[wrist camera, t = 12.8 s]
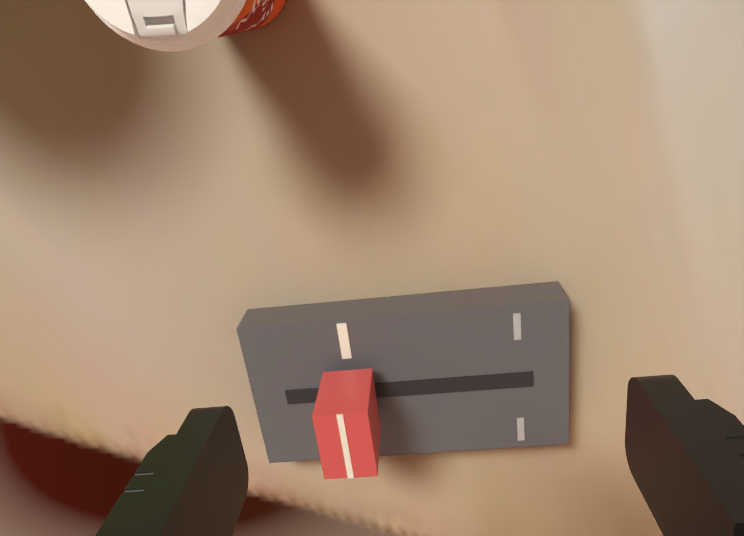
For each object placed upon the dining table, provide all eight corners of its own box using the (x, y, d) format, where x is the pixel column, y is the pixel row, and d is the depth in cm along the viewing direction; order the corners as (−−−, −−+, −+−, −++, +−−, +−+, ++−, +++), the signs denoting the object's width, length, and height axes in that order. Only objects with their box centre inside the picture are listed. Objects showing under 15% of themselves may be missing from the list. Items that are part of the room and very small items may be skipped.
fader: (372, 363, 40) (367, 412, 34) (381, 421, 41) (377, 476, 36) (324, 367, 40) (311, 416, 35) (334, 424, 42) (324, 479, 37)
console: (558, 281, 40) (569, 299, 37) (558, 418, 45) (569, 445, 42) (247, 309, 42) (236, 329, 40) (277, 437, 47) (269, 463, 44)
